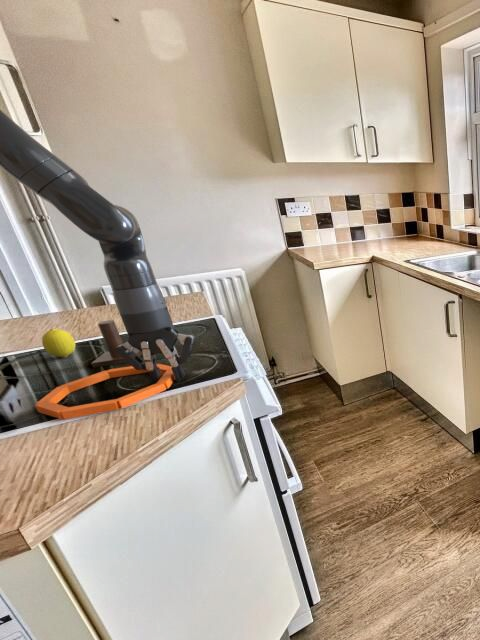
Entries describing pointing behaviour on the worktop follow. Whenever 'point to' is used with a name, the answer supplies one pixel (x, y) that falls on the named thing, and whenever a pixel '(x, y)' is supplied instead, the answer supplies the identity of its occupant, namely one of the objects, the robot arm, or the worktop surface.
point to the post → (111, 345)
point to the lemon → (58, 343)
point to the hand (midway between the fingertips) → (170, 382)
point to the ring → (59, 411)
